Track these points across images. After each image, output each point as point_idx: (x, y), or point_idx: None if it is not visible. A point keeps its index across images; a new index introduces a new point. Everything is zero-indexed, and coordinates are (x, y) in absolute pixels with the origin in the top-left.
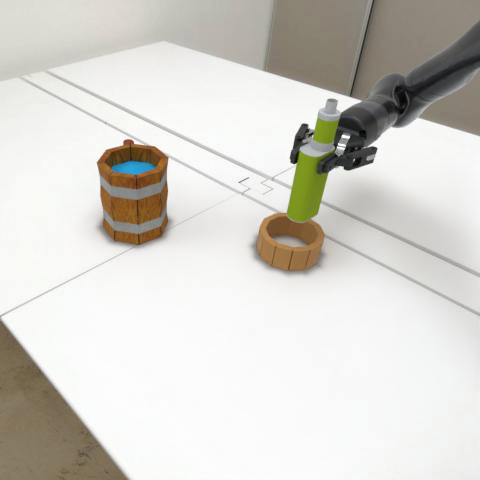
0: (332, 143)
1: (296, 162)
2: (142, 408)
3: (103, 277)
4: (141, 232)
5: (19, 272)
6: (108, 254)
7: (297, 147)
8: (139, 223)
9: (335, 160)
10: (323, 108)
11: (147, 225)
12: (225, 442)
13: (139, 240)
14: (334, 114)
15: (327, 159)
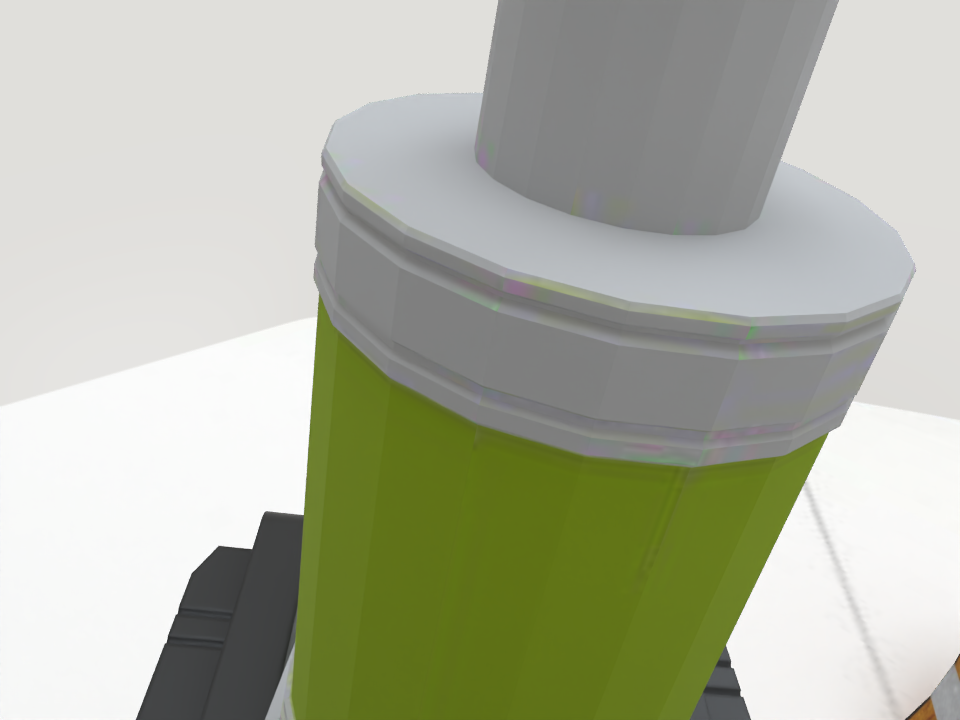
0: (289, 675)
1: None
2: None
3: (779, 549)
4: (935, 706)
5: (897, 463)
6: (884, 624)
7: (728, 716)
8: (958, 665)
9: (151, 694)
10: (880, 250)
11: (956, 716)
12: (202, 387)
13: (912, 717)
14: (449, 134)
15: (252, 586)
